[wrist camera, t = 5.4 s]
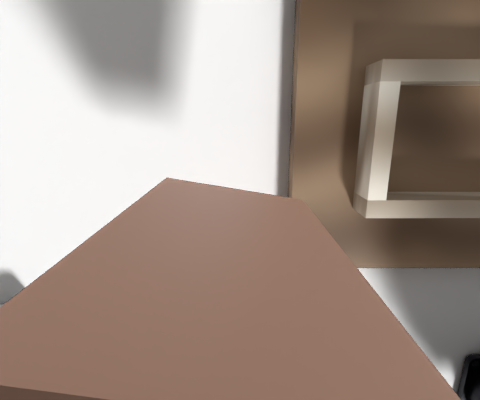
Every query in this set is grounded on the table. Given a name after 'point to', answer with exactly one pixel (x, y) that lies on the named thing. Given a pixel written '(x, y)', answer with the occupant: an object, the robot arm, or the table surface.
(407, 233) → the socket board
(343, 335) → the key block
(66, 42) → the table surface
